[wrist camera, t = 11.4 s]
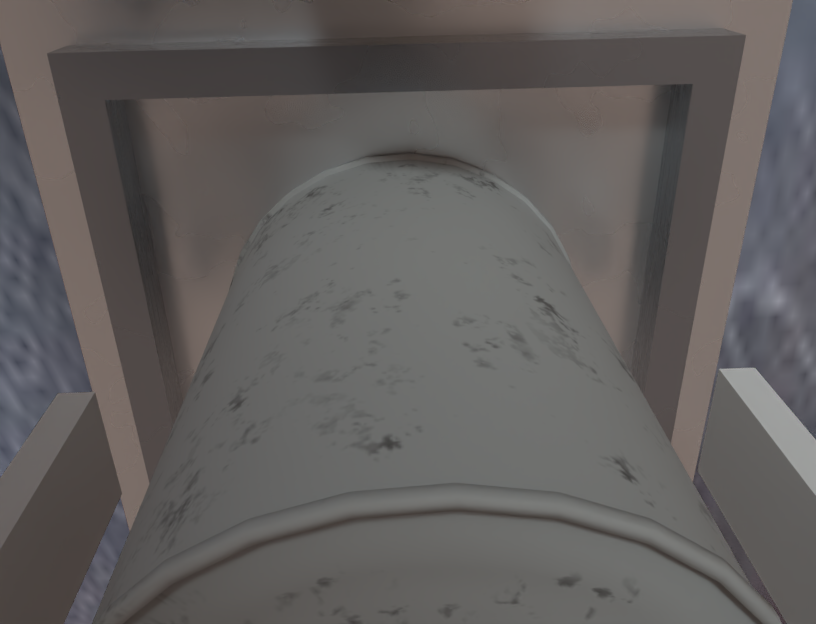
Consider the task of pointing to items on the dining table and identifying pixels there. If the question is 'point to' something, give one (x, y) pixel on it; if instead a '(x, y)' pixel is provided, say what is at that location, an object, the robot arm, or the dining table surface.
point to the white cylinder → (418, 433)
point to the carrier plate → (388, 135)
